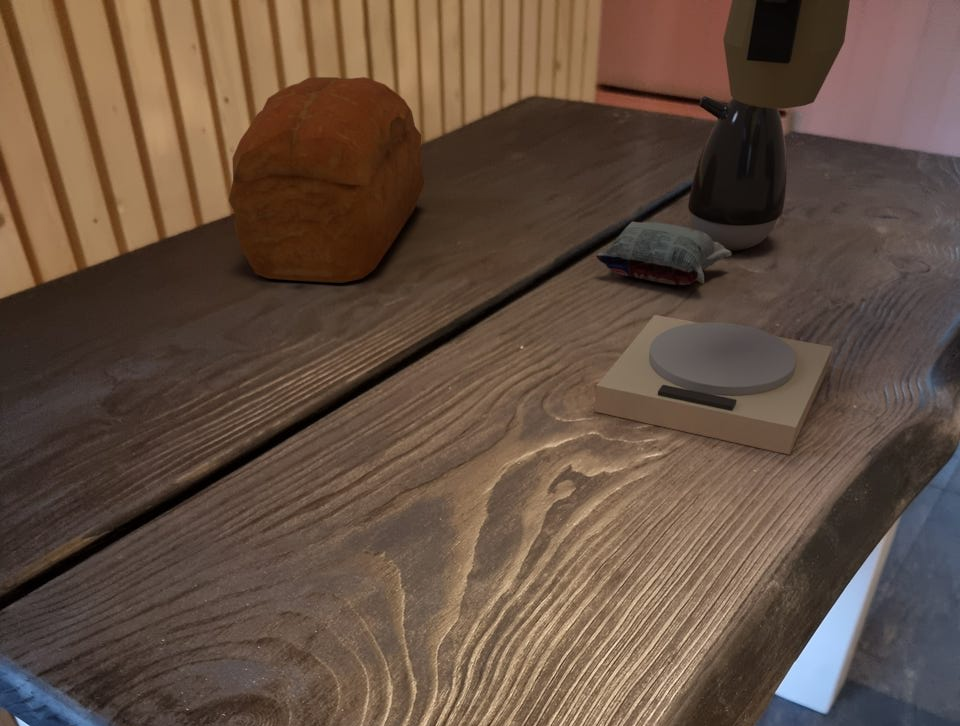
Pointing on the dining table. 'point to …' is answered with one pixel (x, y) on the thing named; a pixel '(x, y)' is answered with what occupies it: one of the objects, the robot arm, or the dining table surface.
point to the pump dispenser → (740, 175)
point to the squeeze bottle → (809, 59)
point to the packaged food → (662, 253)
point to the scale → (716, 382)
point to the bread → (325, 179)
